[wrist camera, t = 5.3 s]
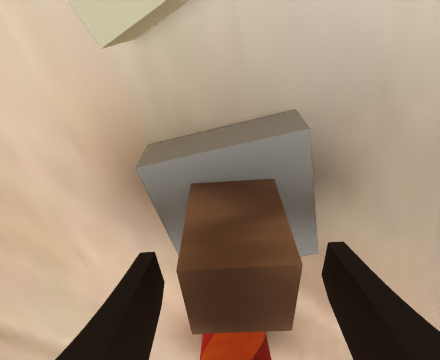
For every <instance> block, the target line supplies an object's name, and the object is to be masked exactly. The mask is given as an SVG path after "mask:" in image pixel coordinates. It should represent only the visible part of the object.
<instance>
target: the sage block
mask: <svg viewBox="0 0 440 360" xmlns="http://www.w3.org/2000/svg"><path fill="white" fill-rule="evenodd" d="M66 1H67V3H68V4H69V5H70V7H71V8H72V10H73V11H74V12H75V14H76V15H77V16H78V18H79V19H80V20H81V22H82V23H83V25H84V26H85V27H86V29H87V30H88V31H89V33H90V34H91V35H92V37H93V38H94V40H95V41H96V42H97V44H98V45H99V46H100V48H101V49H102V48H105V47H109V46H112V45H116V44H119V43H123V42H126V41H130V40H133V39H136V38H137V37H139V36H140V35H142V34H143V33H144V32H146V31H147V30H149V29H150V28H151V27H153V26H154V25H156V24H157V23H158V22H160V21H161V20H162V19H164V18H165V17H167V16H168V15H169V14H171V13H172V12H174V11H175V10H176V9H178V8H179V7H180V6H182V5H183V4H185V3H186V2H187V1H189V0H66Z"/></svg>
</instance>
